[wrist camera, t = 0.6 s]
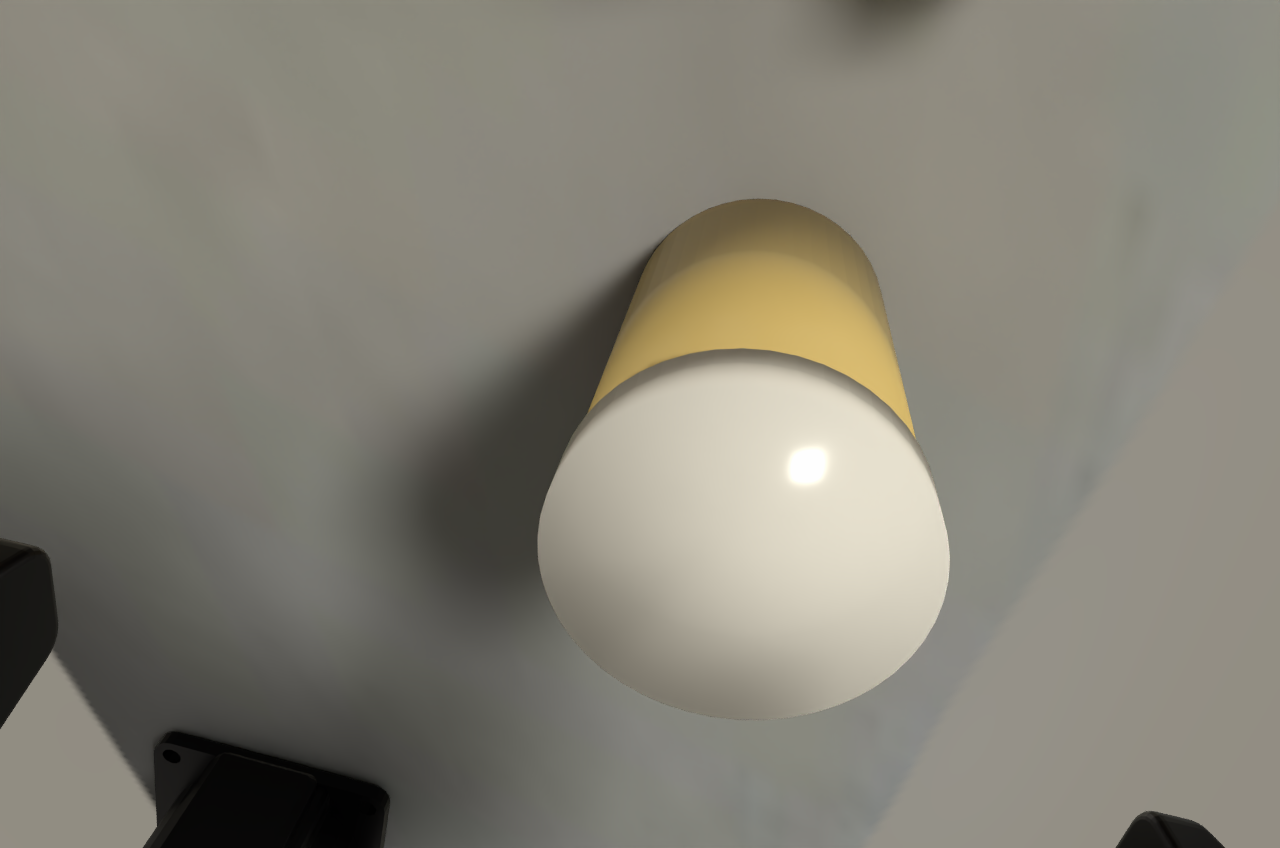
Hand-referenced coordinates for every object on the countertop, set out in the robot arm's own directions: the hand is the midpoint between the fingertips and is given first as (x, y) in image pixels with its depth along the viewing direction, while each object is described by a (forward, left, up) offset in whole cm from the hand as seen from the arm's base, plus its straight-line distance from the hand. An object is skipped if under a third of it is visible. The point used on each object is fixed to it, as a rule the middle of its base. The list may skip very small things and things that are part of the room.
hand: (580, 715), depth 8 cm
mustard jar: (-1, -1, -12) cm, 12 cm away
